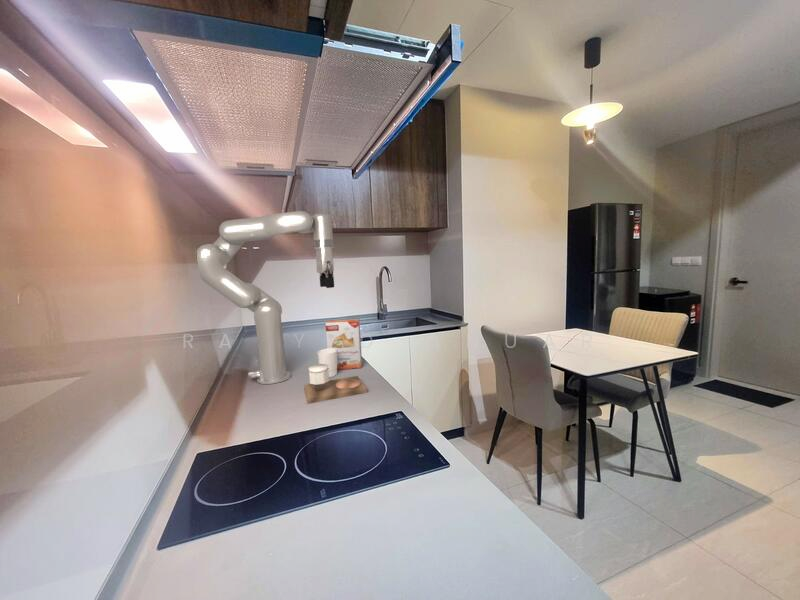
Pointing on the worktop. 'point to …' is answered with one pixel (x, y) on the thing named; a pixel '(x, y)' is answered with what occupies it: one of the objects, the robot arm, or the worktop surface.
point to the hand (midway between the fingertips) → (327, 287)
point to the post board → (334, 389)
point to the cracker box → (345, 342)
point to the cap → (318, 374)
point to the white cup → (328, 360)
